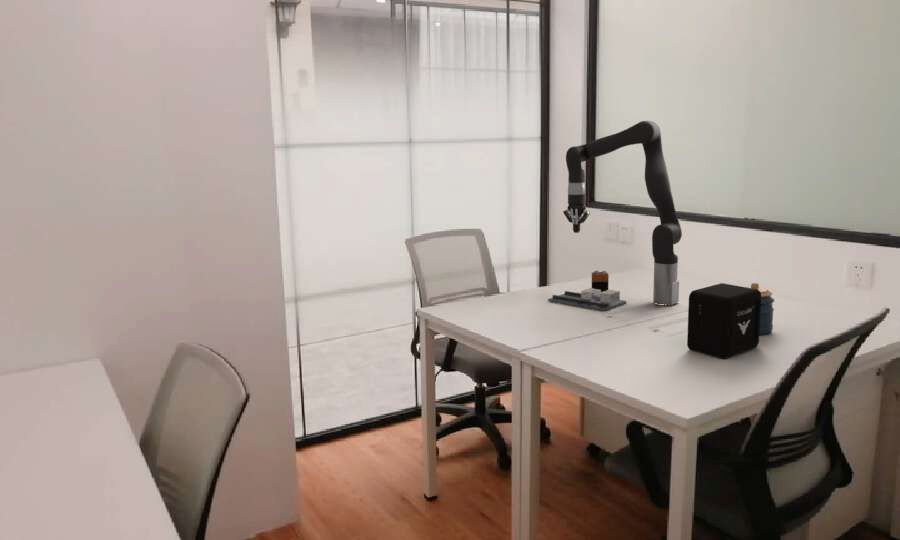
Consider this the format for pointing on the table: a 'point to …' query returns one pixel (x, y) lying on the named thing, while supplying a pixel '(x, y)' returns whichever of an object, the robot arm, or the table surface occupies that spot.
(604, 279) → the battery
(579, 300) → the dark grey piece
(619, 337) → the table surface
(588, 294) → the block
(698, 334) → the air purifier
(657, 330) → the table surface
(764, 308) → the canister
